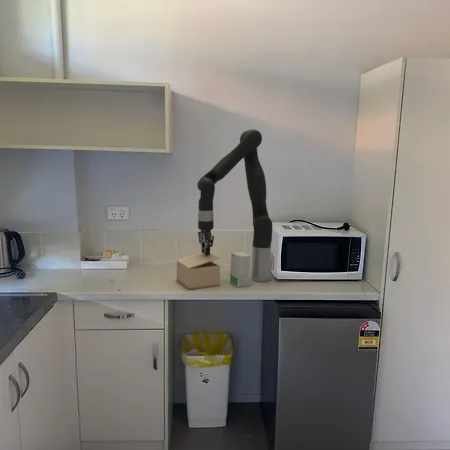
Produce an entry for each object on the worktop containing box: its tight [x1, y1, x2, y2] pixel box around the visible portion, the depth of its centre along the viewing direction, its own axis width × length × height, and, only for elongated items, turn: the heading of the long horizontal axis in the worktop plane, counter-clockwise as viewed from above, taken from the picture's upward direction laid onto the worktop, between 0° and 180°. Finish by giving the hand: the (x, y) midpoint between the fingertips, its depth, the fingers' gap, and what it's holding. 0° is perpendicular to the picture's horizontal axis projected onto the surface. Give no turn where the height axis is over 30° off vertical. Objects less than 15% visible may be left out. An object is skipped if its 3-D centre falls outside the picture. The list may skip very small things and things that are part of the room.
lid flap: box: [176, 246, 220, 269], centre depth 199 cm, size 16×16×5 cm
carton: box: [176, 261, 221, 291], centre depth 201 cm, size 16×16×10 cm
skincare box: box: [229, 250, 251, 288], centre depth 200 cm, size 8×7×16 cm
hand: (205, 253), depth 201 cm, fingers closed on lid flap, 4 cm apart
